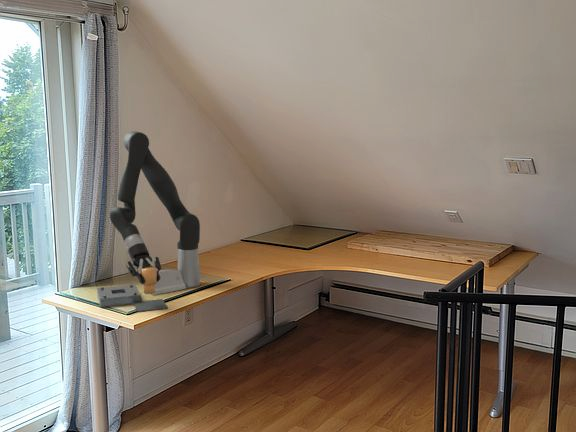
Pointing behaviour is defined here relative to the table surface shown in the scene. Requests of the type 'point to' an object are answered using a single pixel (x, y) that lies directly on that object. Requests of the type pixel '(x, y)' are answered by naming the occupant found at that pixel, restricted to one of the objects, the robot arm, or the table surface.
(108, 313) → the table surface
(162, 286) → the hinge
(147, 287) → the wooden block
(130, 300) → the housing
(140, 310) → the mat
